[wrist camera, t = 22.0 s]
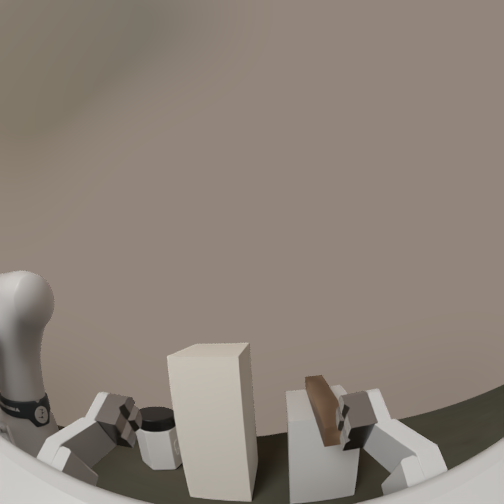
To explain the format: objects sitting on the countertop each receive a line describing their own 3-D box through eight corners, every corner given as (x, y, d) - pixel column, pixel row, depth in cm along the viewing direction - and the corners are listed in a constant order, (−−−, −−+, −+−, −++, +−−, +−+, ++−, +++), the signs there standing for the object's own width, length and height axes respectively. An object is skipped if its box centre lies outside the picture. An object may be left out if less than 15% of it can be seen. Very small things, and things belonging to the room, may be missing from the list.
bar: (324, 446, 22) (324, 428, 23) (305, 389, 44) (305, 376, 44) (351, 442, 22) (352, 423, 22) (322, 387, 43) (321, 375, 44)
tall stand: (190, 496, 29) (166, 356, 34) (209, 459, 43) (196, 343, 48) (251, 501, 28) (238, 356, 34) (258, 461, 42) (249, 342, 47)
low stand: (290, 503, 27) (288, 421, 30) (288, 462, 41) (285, 391, 44) (354, 494, 26) (361, 411, 29) (338, 456, 40) (340, 385, 43)
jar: (172, 475, 36) (161, 424, 38) (136, 465, 37) (125, 416, 40) (190, 455, 44) (183, 408, 47) (157, 449, 46) (149, 403, 48)
